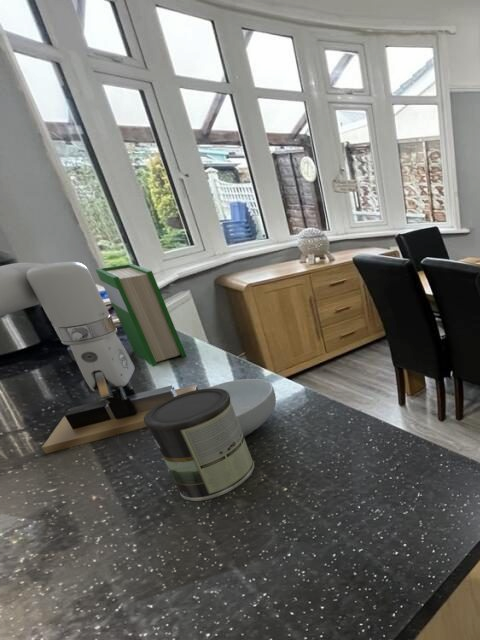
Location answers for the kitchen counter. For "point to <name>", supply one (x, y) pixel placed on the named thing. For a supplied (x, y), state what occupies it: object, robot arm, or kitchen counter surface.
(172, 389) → the grey bar black end
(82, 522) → the kitchen counter surface
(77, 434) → the cutting board
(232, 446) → the coffee can
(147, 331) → the hardback book
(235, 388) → the cereal bowl
